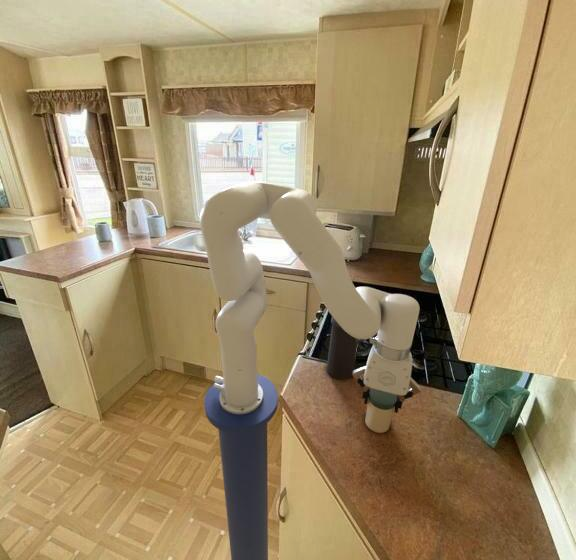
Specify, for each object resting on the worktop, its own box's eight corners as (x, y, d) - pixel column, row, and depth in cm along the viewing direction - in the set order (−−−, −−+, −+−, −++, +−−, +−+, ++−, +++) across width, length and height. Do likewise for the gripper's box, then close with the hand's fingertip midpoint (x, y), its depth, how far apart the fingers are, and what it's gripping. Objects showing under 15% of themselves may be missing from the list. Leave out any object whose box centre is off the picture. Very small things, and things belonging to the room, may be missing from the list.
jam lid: (366, 405, 76) (367, 400, 76) (369, 386, 82) (370, 382, 81) (395, 413, 74) (396, 408, 74) (396, 393, 80) (397, 389, 79)
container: (359, 378, 96) (367, 323, 88) (331, 382, 94) (337, 326, 86) (347, 360, 104) (354, 307, 95) (322, 363, 102) (326, 310, 93)
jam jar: (363, 428, 80) (368, 401, 76) (366, 410, 85) (371, 384, 81) (388, 436, 78) (394, 409, 74) (390, 417, 83) (396, 390, 79)
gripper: (351, 347, 71) (343, 405, 78) (434, 366, 65) (417, 426, 73) (356, 330, 77) (349, 385, 85) (432, 346, 72) (417, 403, 79)
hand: (380, 404), depth 79 cm, fingers closed on jam lid, 6 cm apart
